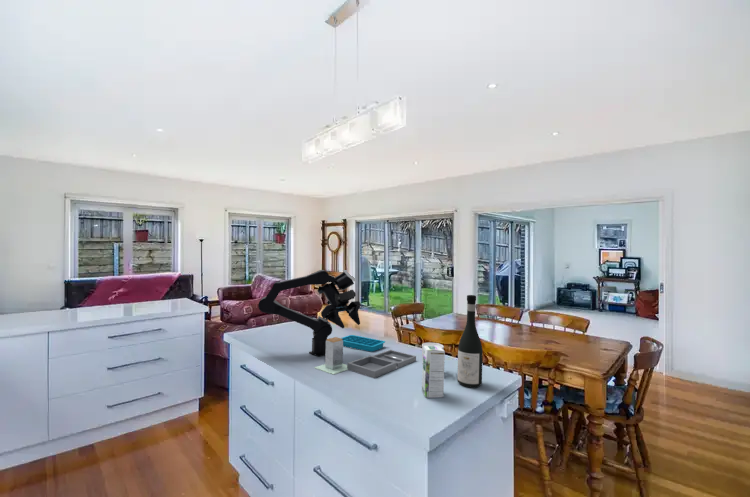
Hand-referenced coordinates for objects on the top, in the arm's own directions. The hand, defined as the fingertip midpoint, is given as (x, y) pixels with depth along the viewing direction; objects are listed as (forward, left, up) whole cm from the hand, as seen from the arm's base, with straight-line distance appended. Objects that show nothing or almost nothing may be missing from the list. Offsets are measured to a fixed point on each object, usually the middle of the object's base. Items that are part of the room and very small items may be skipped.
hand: (351, 326), depth 141 cm
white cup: (+32, +10, -14) cm, 36 cm away
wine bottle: (+47, +9, -14) cm, 49 cm away
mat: (+3, -12, -14) cm, 18 cm away
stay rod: (+14, +10, -14) cm, 22 cm away
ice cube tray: (-10, +18, -14) cm, 25 cm away
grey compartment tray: (+14, +4, -14) cm, 20 cm away
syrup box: (+42, -7, -14) cm, 44 cm away
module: (+3, -12, -13) cm, 18 cm away
